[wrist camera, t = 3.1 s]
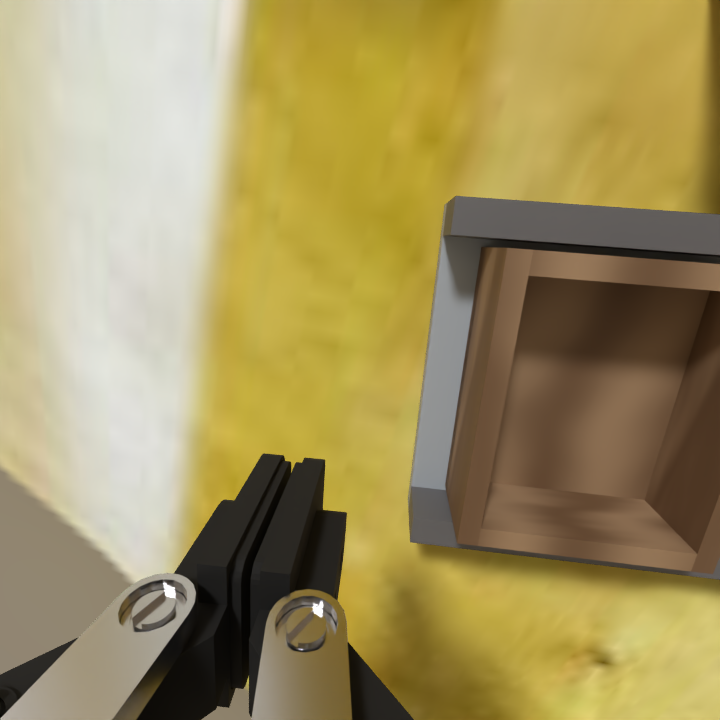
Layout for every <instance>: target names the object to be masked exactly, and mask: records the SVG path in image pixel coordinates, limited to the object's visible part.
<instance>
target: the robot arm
mask: <svg viewBox="0 0 720 720" xmlns="http://www.w3.org/2000/svg"><path fill="white" fill-rule="evenodd" d="M324 476H325V460H323V459H313V458H304V460H303V462H302V463H299V462H296V464H295V466H294V468H293V470H292V473H291V462H289V461H285V458H284V456H283V455H273V454H262V456H261V457H260V459H259V461H258V462H257V464H256V466H255V467H254V469H253V471H252V472H251V474H250V476H249V477H248V479H247V481H246V482H245V484H244V486H243V487H242V489H241V491H240V492H239V494H238V496H237V497H236V499H235V501H233V500H223V501H221V503H220V504H219V505H218V507H217V508H216V510H215V511H214V513H213V514H212V516H211V517H210V519H209V521H208V522H207V524H206V525H205V527H204V528H203V530H202V531H201V533H200V534H199V536H198V537H197V539H196V540H195V542H194V544H193V545H192V547H191V548H190V550H189V551H188V553H187V554H186V556H185V557H184V559H183V560H182V562H181V563H180V565H179V567H178V568H177V570H176V571H175V573H174V574H171V573H165V574H157V575H153V576H150V577H147V578H144V579H142V580H140V581H138V582H136V583H135V584H133V585H131V586H130V587H128V588H127V589H126V590H125V591H124V592H122V593H121V594H120V595H119V596H118V597H117V598H116V599H115V600H114V602H112V604H110V606H108V608H107V609H106V610H105V611H104V612H103V613H102V614H101V615H100V616H99V617H98V618H97V619H96V620H95V621H94V622H93V623H92V624H91V625H90V626H89V627H88V628H87V629H86V630H85V631H84V632H83V633H82V635H80V637H78V638H76V639H74V640H72V641H70V642H68V643H66V644H64V645H61V646H59V647H57V648H55V649H53V650H51V651H49V652H47V653H45V654H43V655H41V656H38V657H37V658H34V659H32V660H30V661H28V662H26V663H24V664H22V665H20V666H18V667H15V668H13V669H11V670H9V671H7V672H5V673H3V674H1V675H0V720H201V719H202V718H204V717H205V716H207V715H208V714H210V713H211V712H212V711H214V710H215V709H216V708H217V706H220V707H228V708H229V706H230V703H231V700H232V697H233V694H234V691H235V688H241V689H243V688H244V687H245V685H246V682H247V679H248V676H249V714H250V716H251V718H252V719H251V720H414V719H413V718H412V717H411V716H410V715H409V713H408V712H407V711H406V710H405V709H404V707H403V706H402V705H401V704H400V703H399V702H398V700H397V699H396V698H395V697H394V696H393V695H392V693H391V692H390V691H389V690H388V689H387V687H386V686H385V685H384V684H383V683H382V682H381V680H380V679H379V678H378V677H377V676H376V675H375V673H374V672H373V671H372V670H371V669H370V667H369V666H368V665H367V664H366V663H365V662H364V660H363V659H362V658H361V657H360V656H359V655H358V653H357V652H356V651H355V650H354V649H353V647H352V646H351V645H350V644H349V643H348V639H347V622H346V617H345V613H344V610H343V608H342V607H341V605H340V604H339V602H338V601H337V599H338V592H339V585H340V578H341V570H342V562H343V553H344V543H345V531H346V517H347V513H346V512H337V511H327V510H323V493H324Z"/></svg>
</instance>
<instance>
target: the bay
mask: <svg viewBox="0 0 720 720" xmlns="http://www.w3.org/2000/svg"><path fill="white" fill-rule="evenodd" d="M481 247H496V248H517V249H530V250H542V251H555V252H568V253H581V254H594V255H607V256H620V257H633V258H646V259H659V260H672V261H685V262H698V263H711V264H720V214H706V213H691V212H677V211H663V210H649V209H634V208H620V207H606V206H591V205H577V204H563V203H549V202H534V201H520V200H506V199H492V198H477V197H463V196H455V197H454V198H453V199H451V200H450V201H449V202H448V203H446V204H445V207H444V215H443V223H442V231H441V239H440V247H439V255H438V263H437V271H436V279H435V287H434V295H433V303H432V311H431V319H430V327H429V335H428V343H427V351H426V359H425V367H424V375H423V383H422V391H421V399H420V407H419V415H418V423H417V431H416V439H415V447H414V455H413V463H412V471H411V479H410V487H409V495H408V508H409V528H410V542H413V543H421V544H430V545H438V546H446V547H454V548H463V549H471V550H479V551H487V552H496V553H504V554H512V555H521V556H529V557H537V558H545V559H554V560H562V561H570V562H578V563H587V564H595V565H603V566H611V567H620V568H628V569H636V570H644V571H653V572H661V573H669V574H677V575H686V576H694V577H702V578H710V579H719V580H720V558H719V560H718V563H717V565H716V568H715V570H714V573H713V574H707V573H699V572H691V571H682V570H674V569H666V568H657V567H649V566H641V565H632V564H624V563H616V562H608V561H599V560H591V559H583V558H574V557H566V556H558V555H549V554H541V553H533V552H525V551H516V550H508V549H500V548H491V547H483V546H475V545H466V544H458V543H457V541H456V536H455V531H454V526H453V521H452V517H451V512H450V507H449V502H448V497H447V493H446V488H445V482H446V475H447V469H448V462H449V456H450V449H451V443H452V436H453V430H454V423H455V417H456V410H457V403H458V397H459V390H460V384H461V377H462V371H463V364H464V358H465V351H466V345H467V338H468V332H469V325H470V319H471V312H472V305H473V299H474V292H475V286H476V279H477V273H478V266H479V260H480V253H481Z"/></svg>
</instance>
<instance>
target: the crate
mask: <svg viewBox="0 0 720 720" xmlns="http://www.w3.org/2000/svg"><path fill="white" fill-rule="evenodd" d="M445 488H446V493H447V497H448V502H449V507H450V512H451V517H452V521H453V526H454V531H455V536H456V541H457V543H458V544H466V545H475V546H483V547H491V548H500V549H508V550H516V551H525V552H533V553H541V554H549V555H558V556H566V557H574V558H583V559H591V560H599V561H608V562H616V563H624V564H632V565H641V566H649V567H657V568H666V569H674V570H682V571H691V572H699V573H707V574H713V573H714V570H715V568H716V565H717V563H718V560H719V558H720V264H711V263H698V262H685V261H672V260H659V259H646V258H633V257H620V256H607V255H594V254H581V253H568V252H555V251H542V250H530V249H517V248H496V247H481V253H480V260H479V266H478V273H477V279H476V286H475V292H474V299H473V305H472V312H471V319H470V325H469V332H468V338H467V345H466V351H465V358H464V364H463V371H462V377H461V384H460V390H459V397H458V403H457V410H456V417H455V423H454V430H453V436H452V443H451V449H450V456H449V462H448V469H447V475H446V482H445Z"/></svg>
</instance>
